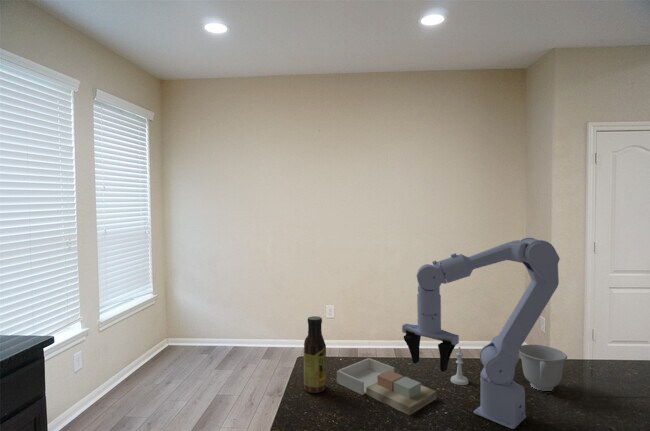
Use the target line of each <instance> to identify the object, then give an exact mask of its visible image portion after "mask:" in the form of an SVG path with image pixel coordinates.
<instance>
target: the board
mask: <svg viewBox="0 0 650 431" xmlns="http://www.w3.org/2000/svg"><path fill="white" fill-rule="evenodd" d="M366 396H368V397H370V398H373V399H375V400H376V401H379V402H381V403H382V404H384V405H387V406H389V407H392V408H393V409H395V410H396V411H399V412H402V413H403V414H406V415H407V416H411V415H413V414H414V413H416V412H417V411H419V410H421V409H422V408H424V407H425V406H427V405H429V404H430V403H431V402H433V401H435V400H436V399H437V390H435V389H432V388H430V387H427V386H424V385H422V384H421V392H420V393H418V394H417V395H415V396H413V397H411V398H410V399H409V398H407V397H405V396H402V395H400V394H398V393H396V392H394V390H393V391H391V390H389V389H386V388H384V387H382V386H380V385H377V382H376V383H374V384H372V385H370V386H368V387H366Z"/></svg>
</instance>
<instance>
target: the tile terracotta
mask: <svg viewBox="0 0 650 431" xmlns="http://www.w3.org/2000/svg"><path fill="white" fill-rule="evenodd" d="M403 377H404V375H402V374H399V373H398V372H395V371H394V372H392V371H389V370H388V371H386V372H384V373H382V374H380V375H377V385H380V386H382V387H384V388H386V389H389V390H391V391H393V390H394V382H395V381H397V380H399V379H401V378H403Z"/></svg>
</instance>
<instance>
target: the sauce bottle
mask: <svg viewBox="0 0 650 431" xmlns="http://www.w3.org/2000/svg"><path fill="white" fill-rule="evenodd" d="M322 323H323V318H322V317H320V316H317V315H316V316H309V317H308V318H307V324H308V326H307V327H308V328H307V336H306V337H305V339H304V344H303V388H304V390H305V391H306V392H308V393H311V394H318V393H322V392H323V391H325V389H326V383H327V345H326V343H325V342H326V341H325V339H324V336H323V334H322Z"/></svg>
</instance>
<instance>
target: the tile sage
mask: <svg viewBox="0 0 650 431" xmlns="http://www.w3.org/2000/svg"><path fill="white" fill-rule="evenodd" d="M421 385H422V383H421V382H420V381H417V380H414V379H412V378H411V377H407V376H403V378H401V379H399V380H397V381H395V382H394V392H396V393H398V394H400V395H402V396H405V397H407V398H409V399H410V398H411V397H413V396H415V395H417V394H418V393H420V392H421Z"/></svg>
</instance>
